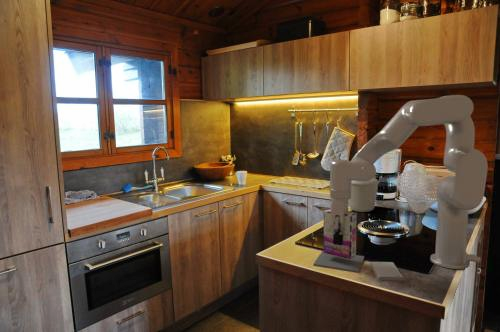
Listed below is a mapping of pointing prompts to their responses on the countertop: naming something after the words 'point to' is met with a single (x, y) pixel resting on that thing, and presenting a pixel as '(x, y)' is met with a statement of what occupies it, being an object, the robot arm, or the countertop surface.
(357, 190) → the canister
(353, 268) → the mat
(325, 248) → the candy bar box
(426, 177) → the heart
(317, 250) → the countertop surface
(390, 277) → the hard drive
